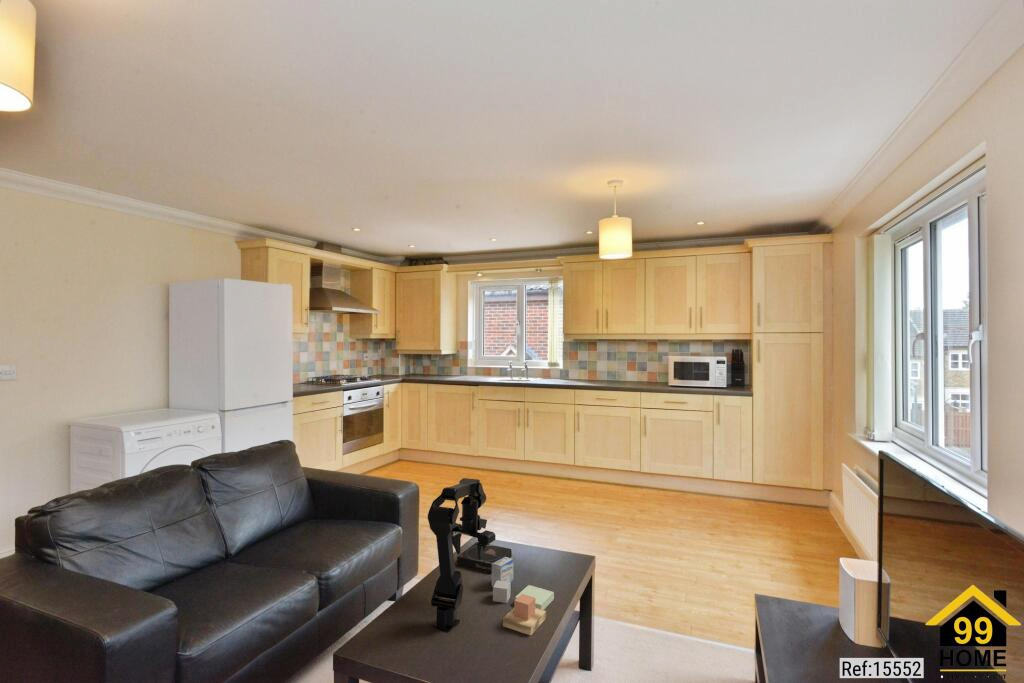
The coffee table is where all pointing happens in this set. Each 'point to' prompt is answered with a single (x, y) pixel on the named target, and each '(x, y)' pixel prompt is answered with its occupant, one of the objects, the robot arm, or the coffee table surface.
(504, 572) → the medicine box
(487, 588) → the coffee table surface
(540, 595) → the green slab
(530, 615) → the terracotta block
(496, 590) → the grey block
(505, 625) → the oak slab
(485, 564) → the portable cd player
